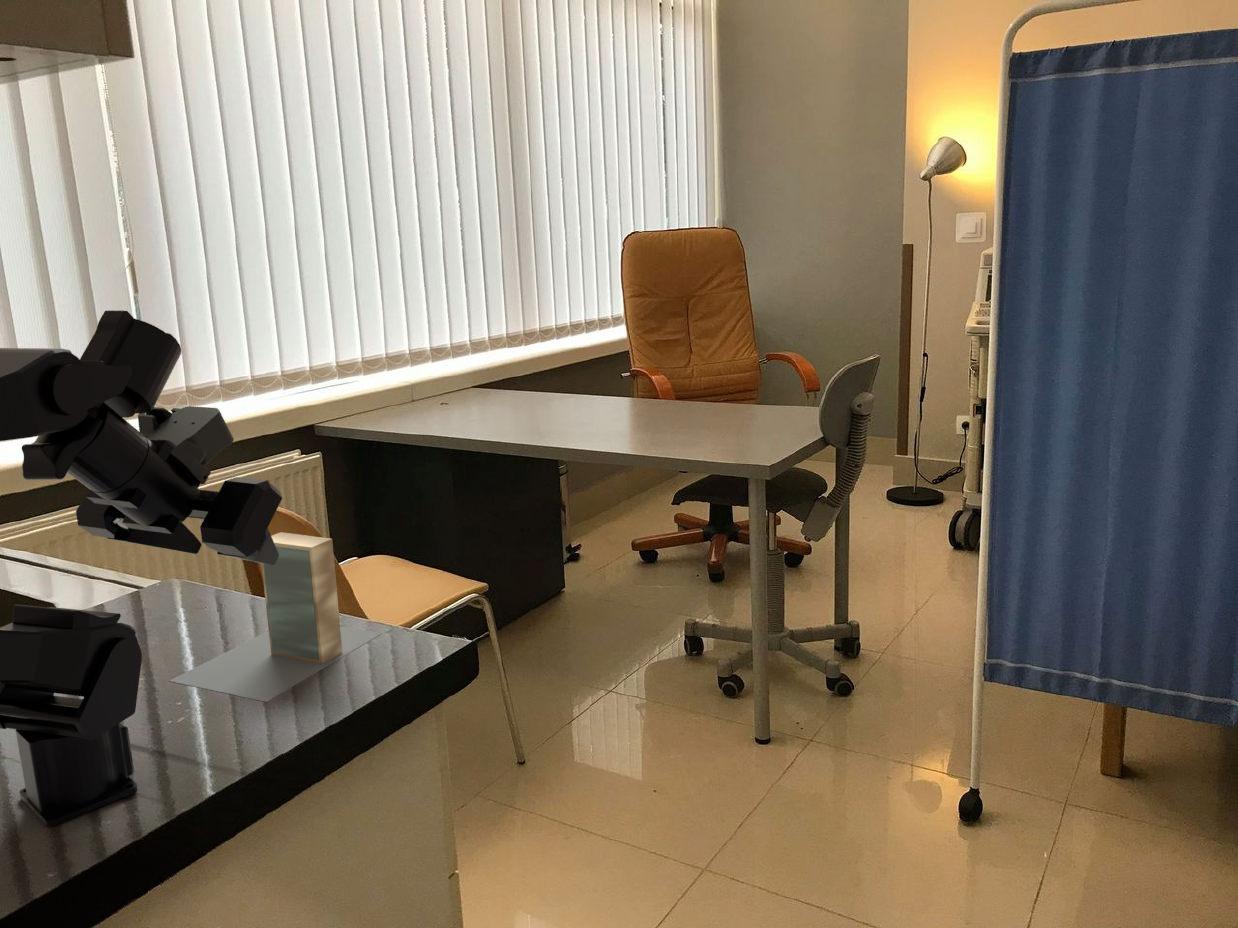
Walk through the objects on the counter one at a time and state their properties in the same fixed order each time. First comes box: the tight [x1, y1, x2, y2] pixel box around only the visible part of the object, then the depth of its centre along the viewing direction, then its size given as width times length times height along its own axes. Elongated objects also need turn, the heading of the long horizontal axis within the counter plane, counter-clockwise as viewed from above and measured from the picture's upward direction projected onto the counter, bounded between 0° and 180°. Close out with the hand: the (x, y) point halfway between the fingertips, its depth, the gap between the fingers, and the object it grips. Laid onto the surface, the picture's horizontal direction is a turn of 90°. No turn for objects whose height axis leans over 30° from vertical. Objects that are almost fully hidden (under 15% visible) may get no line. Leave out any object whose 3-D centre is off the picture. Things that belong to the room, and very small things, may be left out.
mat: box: [169, 625, 383, 703], centre depth 100 cm, size 17×12×1 cm
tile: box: [260, 531, 342, 664], centre depth 99 cm, size 3×6×12 cm, turn 66°
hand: (236, 554), depth 91 cm, fingers open, 9 cm apart
